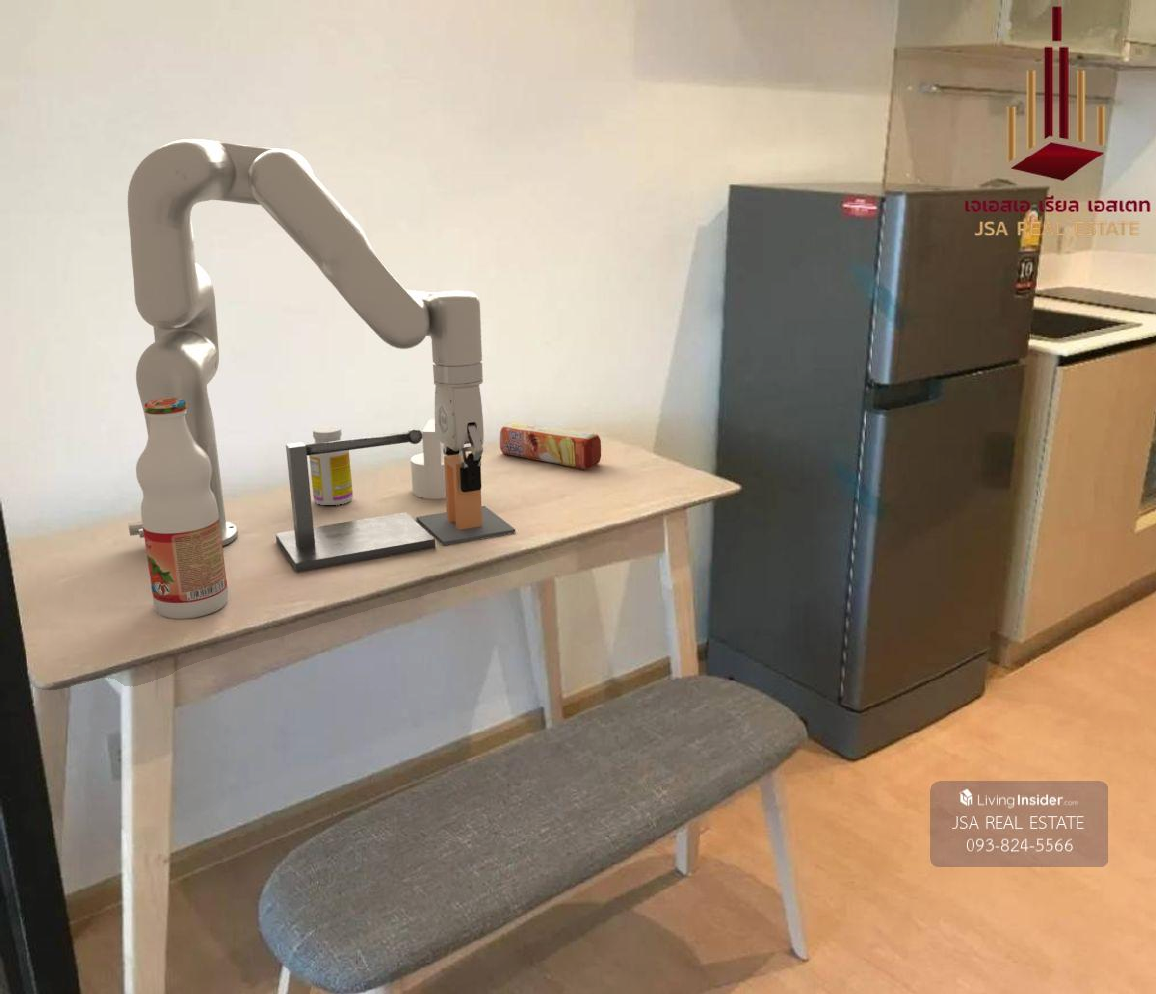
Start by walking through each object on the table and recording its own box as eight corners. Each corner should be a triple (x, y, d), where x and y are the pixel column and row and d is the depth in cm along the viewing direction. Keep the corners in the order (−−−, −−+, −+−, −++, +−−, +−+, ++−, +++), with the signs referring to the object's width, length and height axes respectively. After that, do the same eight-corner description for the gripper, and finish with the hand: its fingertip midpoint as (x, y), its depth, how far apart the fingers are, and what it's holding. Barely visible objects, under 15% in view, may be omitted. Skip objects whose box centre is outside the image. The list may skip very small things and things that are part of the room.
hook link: (458, 529, 168) (455, 464, 164) (447, 520, 172) (443, 456, 169) (482, 525, 169) (479, 460, 166) (470, 516, 174) (467, 452, 170)
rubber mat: (443, 545, 163) (443, 541, 163) (416, 520, 174) (416, 516, 174) (515, 532, 168) (515, 529, 168) (484, 509, 179) (484, 505, 179)
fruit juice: (220, 618, 138) (194, 409, 129) (146, 622, 137) (114, 411, 128) (235, 590, 147) (211, 392, 138) (165, 593, 146) (137, 394, 137)
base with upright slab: (460, 498, 184) (456, 431, 181) (408, 498, 185) (404, 431, 181) (466, 482, 193) (463, 418, 189) (417, 483, 193) (413, 419, 189)
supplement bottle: (358, 495, 187) (352, 424, 183) (346, 507, 180) (340, 434, 176) (321, 494, 187) (314, 424, 183) (308, 506, 181) (301, 433, 177)
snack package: (496, 456, 210) (495, 423, 208) (517, 448, 215) (516, 416, 213) (584, 473, 199) (584, 438, 196) (604, 465, 204) (604, 431, 202)
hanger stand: (296, 572, 153) (285, 458, 147) (276, 542, 165) (265, 435, 159) (442, 546, 162) (436, 438, 157) (413, 519, 174) (407, 417, 169)
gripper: (416, 366, 169) (422, 473, 174) (454, 386, 154) (460, 503, 160) (460, 361, 172) (465, 467, 178) (502, 381, 157) (506, 496, 163)
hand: (462, 483), depth 169 cm, fingers open, 6 cm apart
